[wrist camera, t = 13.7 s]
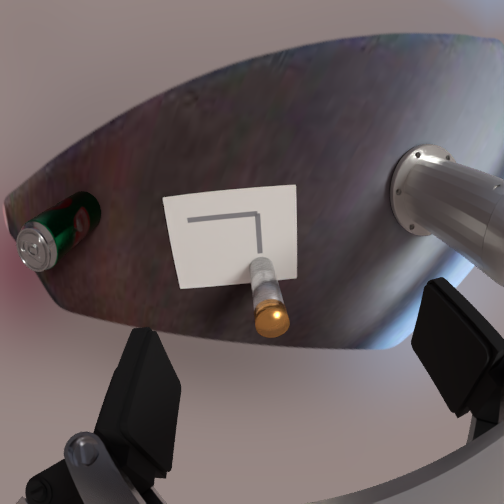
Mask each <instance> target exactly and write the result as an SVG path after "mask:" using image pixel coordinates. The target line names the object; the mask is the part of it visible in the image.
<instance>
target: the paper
mask: <svg viewBox="0 0 504 504" xmlns="http://www.w3.org/2000/svg"><path fill="white" fill-rule="evenodd" d="M163 204H164V210H165V216H166V221H167V227H168V232H169V237H170V243H171V248H172V253H173V257H174V262H175V267H176V272H177V276H178V281H179V285H180V289H185V288H198V287H210V286H222V285H233V284H244V283H251V280H250V272H249V266H250V263H251V262H252V261H253V260H254V259H255V258H258V257H266V258H268V259H270V260H271V261H272V263H273V266H274V270H275V273H276V277H277V280H285V279H294V278H297V212H296V185H282V186H267V187H255V188H243V189H232V190H222V191H212V192H203V193H194V194H186V195H178V196H170V197H163Z"/></svg>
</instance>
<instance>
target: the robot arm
mask: <svg viewBox="0 0 504 504" xmlns="http://www.w3.org/2000/svg"><path fill="white" fill-rule="evenodd" d="M390 202H391V207H392V211H393V213H394V216H395V218H396V219H397V221H398V222H399V224H400V225H401V226H402V227H403V228H404V229H406V230H407V231H408V232H410V233H412V234H414V235H419V236H428V235H431V234H433V235H434V236H436V237H437V238H439V239H440V240H442V241H443V242H444V243H446V244H447V245H449V246H450V247H451V248H453V249H454V250H455V251H457V252H458V253H459V254H461V255H462V256H463V257H465V258H466V259H467V260H469V261H470V262H471V263H472V264H474V265H475V266H476V267H478V268H479V269H480V270H482V271H483V272H484V273H485V274H486V275H487V276H489V277H490V278H491V279H492V280H494V281H495V282H496V283H498V284H499V285H501V286H503V287H504V180H503V179H501V178H498V177H496V176H493V175H490V174H487V173H485V172H482V171H479V170H476V169H473V168H470V167H467V166H464V165H461V164H458V163H456V161H455V159H454V158H453V157H452V155H451V154H450V153H449V152H448V151H447V150H445V149H444V148H442V147H440V146H436V145H432V144H422V145H418V146H416V147H414V148H412V149H411V150H409V151H408V152H407V153H406V154H405V155H404V156H403V157H402V158H401V160H400V161H399V163H398V165H397V166H396V169H395V171H394V173H393V177H392V181H391V187H390ZM411 345H412V348H413V350H414V351H415V353H416V355H417V356H418V358H419V359H420V361H421V362H422V364H423V366H424V367H425V369H426V370H427V372H428V374H429V375H430V377H431V379H432V380H433V382H434V384H435V385H436V387H437V389H438V390H439V392H440V394H441V395H442V397H443V399H444V401H445V402H446V404H447V406H448V408H449V409H450V411H451V412H453V413H455V414H456V416H457V418H459V417H461V416H463V415H464V414H466V413H468V412H469V411H471V413H472V419H471V425H470V430H469V435H468V440H467V443H466V445H465V446H463V447H461V448H459V449H458V450H456V451H454V452H452V453H450V454H448V455H447V456H445V457H443V458H441V459H439V460H437V461H435V462H433V463H431V464H428V465H426V466H424V467H422V468H420V469H418V470H415V471H413V472H411V473H408V474H406V475H403V476H401V477H398V478H396V479H393V480H391V481H388V482H385V483H383V484H379V485H377V486H373V487H370V488H367V489H364V490H361V491H357V492H354V493H350V494H347V495H343V496H339V497H335V498H331V499H327V500H322V501H318V502H312V503H307V504H504V339H503V338H502V337H501V335H500V334H499V333H498V332H497V331H496V330H495V329H494V328H493V326H491V324H490V323H489V322H488V321H487V320H486V319H485V318H484V317H483V316H482V315H481V314H480V313H479V312H478V311H477V309H475V307H473V305H472V304H470V302H469V301H468V300H466V298H465V297H464V296H463V295H461V294H460V293H459V292H458V291H457V290H456V289H455V288H454V287H453V286H452V285H451V284H450V283H449V282H448V281H447V280H446V279H445V278H443V277H440V278H436V279H433V280H430V281H428V283H427V285H426V286H425V287H424V291H423V295H422V300H421V304H420V309H419V313H418V317H417V321H416V325H415V329H414V332H413V336H412V340H411ZM180 395H181V384H180V381H179V379H178V377H177V375H176V373H175V371H174V369H173V366H172V364H171V362H170V360H169V358H168V356H167V354H166V352H165V350H164V347H163V345H162V343H161V340H160V338H159V336H158V334H157V332H156V331H152V330H151V328H149V327H145V328H134V329H132V331H131V334H130V336H129V338H128V341H127V344H126V346H125V349H124V351H123V354H122V356H121V359H120V362H119V364H118V367H117V368H116V370H115V371H114V374H113V377H112V379H111V382H110V385H109V387H108V390H107V393H106V396H105V399H104V402H103V405H102V408H101V411H100V414H99V417H98V420H97V423H96V426H95V429H94V433H91V432H80V433H77V434H75V435H74V436H72V437H71V438H70V439H69V440H68V442H67V443H66V446H65V448H64V457H65V459H63V460H61V461H60V462H58V463H56V464H54V465H53V466H51V467H49V468H48V469H46V470H44V471H42V472H41V473H39V474H37V475H35V476H33V477H32V478H31V479H30V480H29V482H28V483H27V485H26V498H24V497H21V498H20V499H19V501H18V502H17V503H16V504H167V503H166V502H165V501H164V500H163V498H162V497H161V496H160V495H159V493H158V492H157V491H156V489H155V488H154V487H153V485H154V479H155V478H166V474H167V472H169V471H171V468H172V460H173V450H174V442H175V434H176V425H177V417H178V410H179V402H180Z"/></svg>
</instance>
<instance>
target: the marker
mask: <svg viewBox="0 0 504 504" xmlns="http://www.w3.org/2000/svg"><path fill="white" fill-rule="evenodd" d="M249 272H250V280H251V288H252V296H253V305H254V317H255V325H256V330H257V332H258V333H259V334H260V335H262V336H264V337H268V338H274V337H278V336H280V335H282V334H284V333H285V332H286V331H287V330H288V328H289V325H290V322H289V318H288V314H287V311H286V307H285V305H284V302H283V298H282V295H281V291H280V287H279V284H278V280H277V277H276V273H275V270H274V266H273V263H272V261H271V260H270V259H268V258H266V257H258V258H255V259H254V260H253V261H252V262H251V263H250V266H249Z"/></svg>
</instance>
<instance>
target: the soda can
mask: <svg viewBox="0 0 504 504" xmlns="http://www.w3.org/2000/svg"><path fill="white" fill-rule="evenodd" d="M100 218H101V209H100V205H99V203H98V201H97V199H96V198H95V197H94V196H93V195H91V194H90V193H88V192H84V191H81V192H77V193H75V194H73V195H71V196H69V197H68V198H66V199H64V200H62V201H61V202H59V203H57V204H55V205H54V206H52V207H50V208H49V209H47V210H45V211H44V212H42V213H40V214H39V215H37V216H36V217H34V218H32V219H31V220H29V221H28V222H26V223H25V224H24V225H23V227H22V229H21V231H20V233H19V234H18V237H17V250H18V254H19V256H20V258H21V260H22V261H23V263H24V264H25V265H26V266H27V267H28V268H30V269H31V270H33V271H37V272H40V271H43V270H48V269H51V268H52V267H54V266H55V265H56V264H57V263H58V262H59V261H60V260H61V259H62V258H63V257H64V256H65V255H66V254H67V253H68V252H69V251H70V250H71V249H72V248H73V247H74V246H75V245H76V244H77V243H78V242H80V241H81V240H82V239H83V238H84V237H85V236H86V235H87V234H88V233H89V232H91V231H92V230H93V229H94V228H95V227H96V226H97V225H98V223H99V221H100Z"/></svg>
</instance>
